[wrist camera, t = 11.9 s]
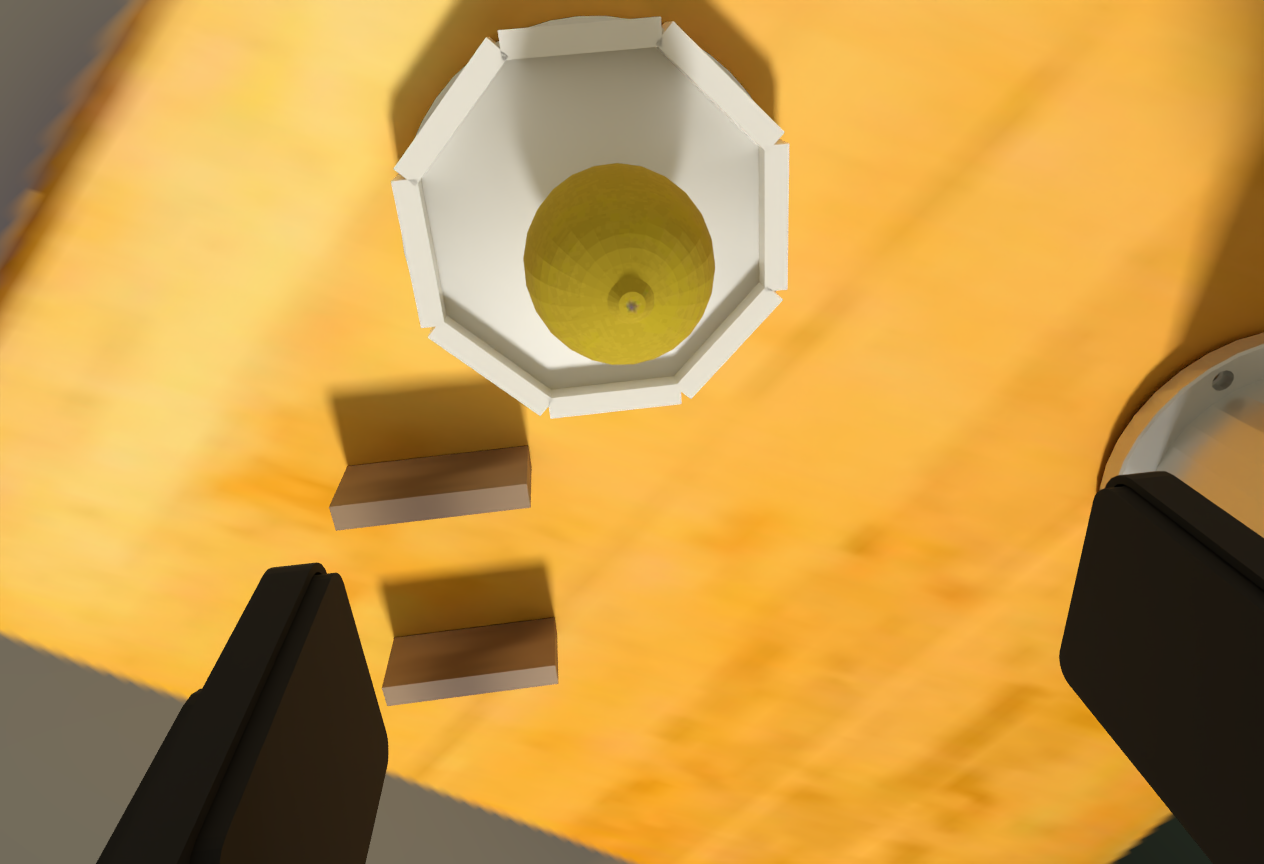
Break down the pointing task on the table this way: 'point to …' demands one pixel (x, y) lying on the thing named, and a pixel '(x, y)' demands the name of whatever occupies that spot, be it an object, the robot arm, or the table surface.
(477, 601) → the table surface
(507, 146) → the saucer
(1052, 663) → the table surface
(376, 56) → the table surface
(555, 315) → the lemon
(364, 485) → the rack
